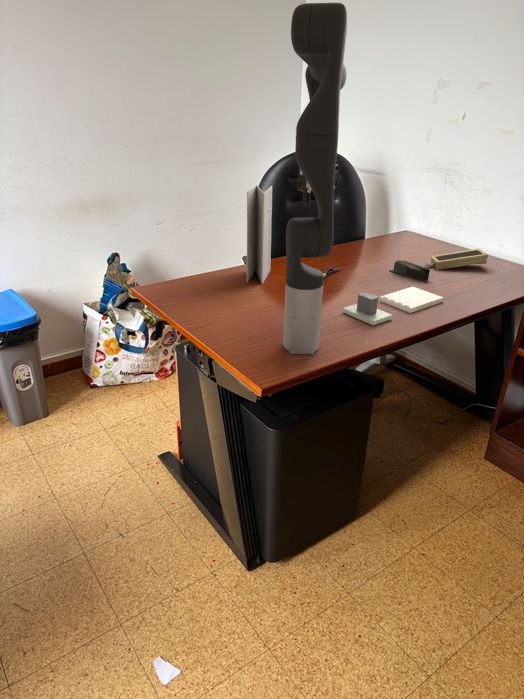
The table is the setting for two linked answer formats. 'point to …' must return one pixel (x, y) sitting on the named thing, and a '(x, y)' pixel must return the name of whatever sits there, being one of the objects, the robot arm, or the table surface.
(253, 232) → the brochure
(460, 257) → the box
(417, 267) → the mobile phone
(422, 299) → the cream panel
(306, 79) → the robot arm
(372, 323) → the stub
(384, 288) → the table surface
